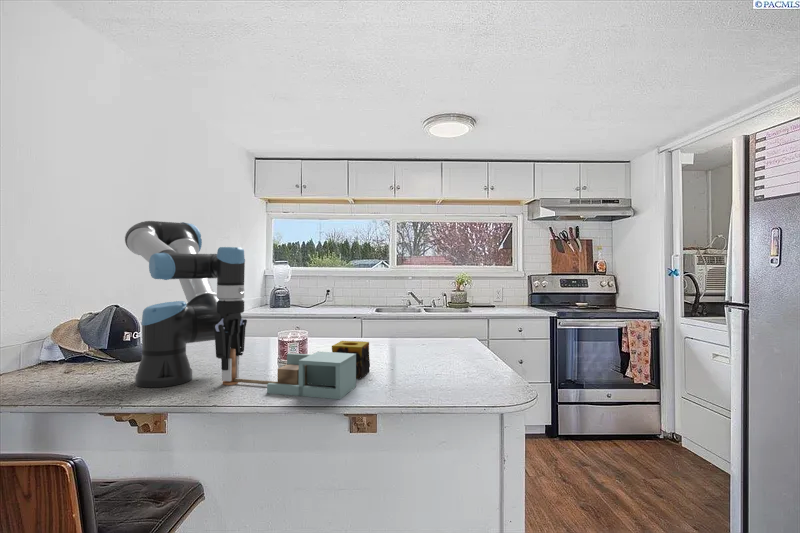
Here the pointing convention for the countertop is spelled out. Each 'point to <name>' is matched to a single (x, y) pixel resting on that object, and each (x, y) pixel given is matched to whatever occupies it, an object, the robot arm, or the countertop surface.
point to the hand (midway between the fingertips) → (230, 379)
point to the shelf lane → (320, 375)
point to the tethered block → (285, 376)
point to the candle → (361, 355)
